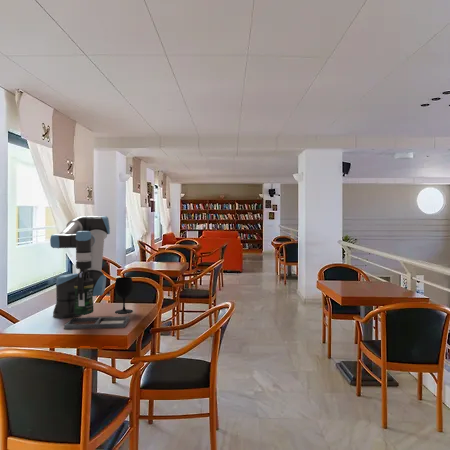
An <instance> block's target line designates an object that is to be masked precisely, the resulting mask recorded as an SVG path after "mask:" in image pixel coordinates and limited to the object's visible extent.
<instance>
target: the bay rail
mask: <svg viewBox="0 0 450 450" xmlns="http://www.w3.org/2000/svg"><path fill="white" fill-rule="evenodd" d="M121 320H124V322H123V323H107V324H101V322H102V321H121ZM87 321H90V322H89V323H87ZM91 321H92V322H94V323H91ZM129 321H130V316H95V317H94V316H93V317H92V316H91V317H90V316H87V317H83V316H82V317H71V319H69V320H68V322H66V323H65V324H63V329H64V330H83V329H87V330H88V329H90V330H91V329H114V328H115V329H120V328H121V329H123V328H126V326H127V324H128V323H129ZM82 322H84V323H82ZM85 322H86V323H85ZM77 323H78V324H77ZM79 323H80V324H79Z"/></svg>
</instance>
